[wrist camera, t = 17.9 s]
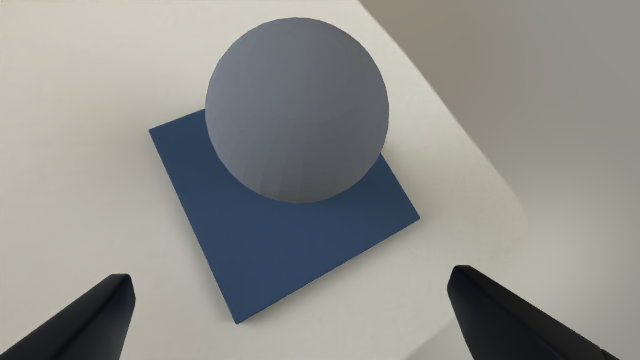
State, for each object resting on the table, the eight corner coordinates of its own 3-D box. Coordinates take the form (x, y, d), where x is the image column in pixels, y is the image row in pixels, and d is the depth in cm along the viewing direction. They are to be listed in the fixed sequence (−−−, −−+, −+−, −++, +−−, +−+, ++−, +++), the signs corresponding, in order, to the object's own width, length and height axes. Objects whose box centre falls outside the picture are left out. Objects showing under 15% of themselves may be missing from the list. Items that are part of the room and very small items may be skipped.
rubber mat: (416, 220, 19) (421, 218, 18) (237, 323, 16) (236, 325, 15) (324, 68, 21) (326, 62, 20) (151, 134, 18) (147, 129, 17)
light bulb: (205, 188, 17) (127, 69, 7) (275, 107, 19) (283, -68, 9) (300, 256, 17) (345, 222, 7) (361, 167, 19) (458, 48, 9)
